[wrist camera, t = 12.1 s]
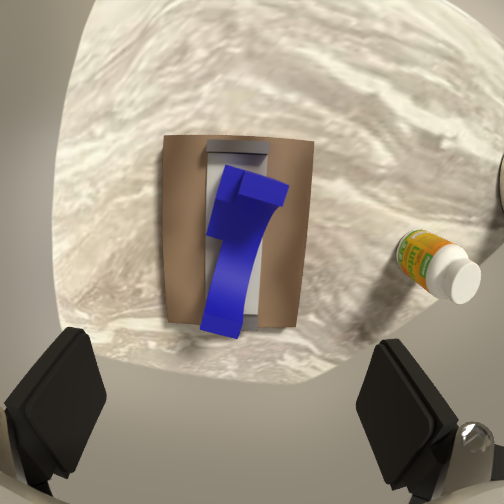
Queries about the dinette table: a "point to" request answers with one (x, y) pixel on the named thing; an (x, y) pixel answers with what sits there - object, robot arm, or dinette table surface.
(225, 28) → the dinette table surface
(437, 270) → the supplement bottle
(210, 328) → the blue curved piece
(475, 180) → the dinette table surface
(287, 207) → the rail board
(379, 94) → the dinette table surface
